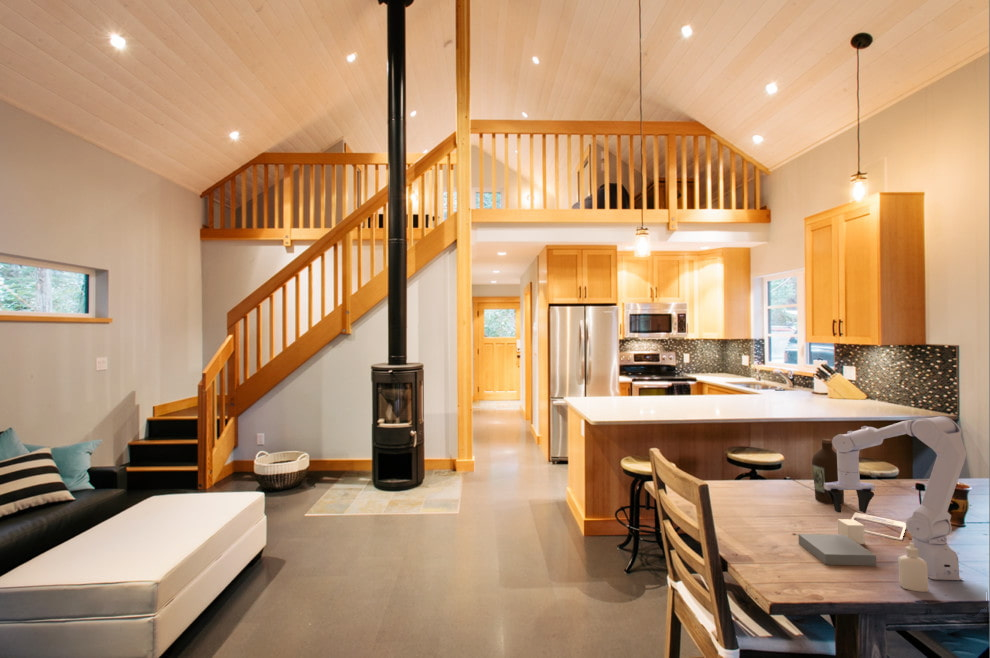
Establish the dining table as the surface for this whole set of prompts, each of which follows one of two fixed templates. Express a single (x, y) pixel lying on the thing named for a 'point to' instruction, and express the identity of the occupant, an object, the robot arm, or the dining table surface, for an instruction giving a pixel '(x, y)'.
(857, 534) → the cream block
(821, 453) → the olive oil
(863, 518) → the photo frame
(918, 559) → the eye dropper bottle
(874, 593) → the dining table surface
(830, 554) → the base plinth
